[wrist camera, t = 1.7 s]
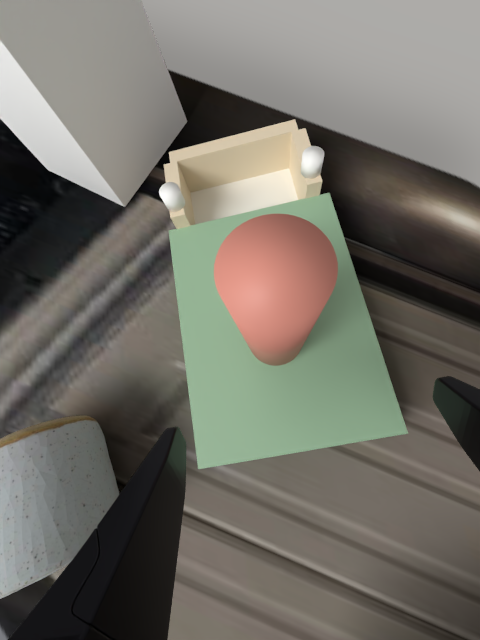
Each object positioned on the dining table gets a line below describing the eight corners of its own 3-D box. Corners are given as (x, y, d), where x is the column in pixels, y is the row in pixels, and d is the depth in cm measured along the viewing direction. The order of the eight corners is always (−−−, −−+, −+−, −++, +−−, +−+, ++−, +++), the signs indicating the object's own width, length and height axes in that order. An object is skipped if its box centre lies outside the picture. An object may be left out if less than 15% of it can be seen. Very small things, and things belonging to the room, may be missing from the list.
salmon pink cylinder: (314, 342, 20) (365, 271, 9) (271, 377, 20) (265, 353, 8) (278, 302, 21) (280, 192, 10) (237, 335, 21) (190, 262, 9)
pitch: (393, 428, 20) (407, 433, 18) (206, 461, 21) (198, 469, 19) (324, 210, 25) (329, 192, 23) (178, 245, 26) (168, 230, 24)
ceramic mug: (115, 405, 23) (38, 412, 16) (147, 509, 21) (74, 573, 13) (4, 460, 23) (-124, 492, 16) (22, 569, 21) (-117, 664, 14)
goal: (317, 212, 25) (328, 165, 20) (183, 244, 26) (160, 206, 21) (300, 155, 27) (306, 98, 22) (175, 187, 28) (152, 139, 23)
